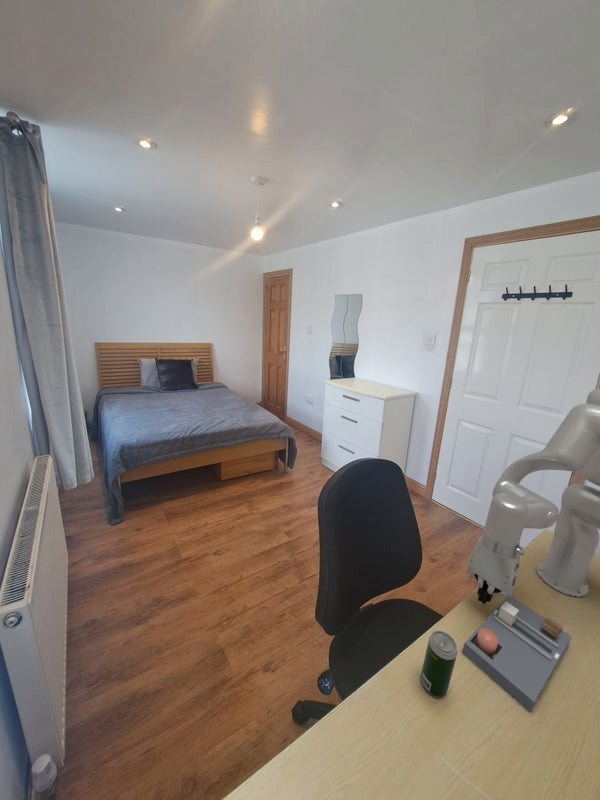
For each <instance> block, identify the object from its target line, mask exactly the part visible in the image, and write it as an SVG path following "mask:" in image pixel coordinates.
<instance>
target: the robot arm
mask: <svg viewBox="0 0 600 800" xmlns="http://www.w3.org/2000/svg"><path fill="white" fill-rule="evenodd" d="M547 470H548V471H565V472H566V471H567V472H577V471H580V474H581V476H582V478H584V479H585V480H586V481H588V482H589V483H591V484H593V485H595V486H598V487H600V388H595V389H592V390H591V391H590V392H589V393H588V395H587V397H586V402H585V403H581V404H577V405H575V406H574V407H572V409H570V411H569V412H568V413H567V415H566V416H565V418H564V419H563V421H562V422H561V423H560V425H559V427H558V428H557V429H556V430H555V432H554V434H553V435H552V436H551V438H550V439H549V441H548V442H547V444H545V447H544V448H543V449H542V450H540V451H537V452H534V453H531V454H528V455H525V456H523V457H521V458H519V459H517V460H516V461H514V462H512V463H511V464H510V465H509V466H507V467H506V468H505V470H504V471H503V473H502V474H501V475H500V477H499V479H498V480H497V481H496V483H495V485H494V487H493V490H492V499H491V502H490V505H489V509H488V514H487V517H486V521H485V525H484V529H483V532H482V535H480V536H479V537H478V539H477V541H476V542H475V545H474V547H473V549H472V550H471V554H470V556H469V560H468V565H467V570H468V571H469V572H470V573H471V574H472V575H474V578H475V580H476V581H477V586H478V590H477V596H478V597H477V601H478V602H481V604H483V605H485V604H486V603H487V602H488V603H491V601H492V599H493V596H494V594H501V595H503V596H506V597H507V596H508V597H510V596H512V595H513V587H515V585H516V584H517V579H518V575H519V569H520V563H521V562H520V559H521V558H520V556H523V555H524V554H525V550H524V549H522V548H521V547H520V544H521V543H520V541H521V538H522V534H523V532H524V531H523V530H524V529H532V530H533V529H534V530H535V529H537V530H538V529H539V530H540V529H541V530H542V529H548V528H550V527H552V526H555V524H556V523H557V524H556V528H555V531H554V534H553V536H552V539H551V543H550V546H549V549H548V552H547V554H546V559H545V561H540V562H538V563H537V564H536V568H535V569H536V570H537V571H536V570H535V571H536V573H537V575H538V576H539V578H540V577H541V578H540V579H541V580H542V582H544V583H545V582H546V583H545V584H546V585H548V586H549V587H551V588H553V590H556V591H558V592H560V593H562V594H565V595H567V596H570V595H571V597H574V596H576V597H577V598H582V597H581V596H583V597H586V596H587V595H588V593H589V589H590V588H589V585H588V583H587V582H586V581H585V580H586V577H587V574H588V571H589V570H590V566H591V563H592V561H593V559H594V555H595V553H596V551H597V548H598V546H599V543H600V532H599V530H600V490H599V489H597V488H594V487H593V486H590V485H587V484H582V483H572V484H570V485H568V486H567V487H565V489H564V490H563V492H562V494H561V500H560V501H561V502H560V510H559V508H558V506H557V505H556V504H555V503H554V502H553V501H551V500H549V499H548V498H546V497H544V496H542V495H540V494H538V493H536V492H534V491H532V490H531V489H529V488H528V487H525V486H523V485H521V484H520V483H521V482H522V480H523V479H524V478H525V477H527V476H528V475H530V474H532V473H534V472H538V471H547ZM586 594H587V595H586ZM585 595H586V596H585ZM576 597H575V598H576Z"/></svg>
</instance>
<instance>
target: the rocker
mask: <svg viewBox="0 0 600 800" xmlns="http://www.w3.org/2000/svg"><path fill="white" fill-rule="evenodd" d="M541 627H542V628H543V629H545V630H546V631H548V632H549V633H551V634H552V635H554V636H555V637H557V636H558V635H559V633H560V632H561V630H563V628H564V625H562V624H561V623H559V622H558V621H556V620H554V619H553V618H552V617H549V616H547V617H545V620H544V621H543V622H542V624H541Z"/></svg>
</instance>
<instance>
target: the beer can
mask: <svg viewBox="0 0 600 800" xmlns="http://www.w3.org/2000/svg"><path fill="white" fill-rule="evenodd" d="M428 637H429V638H428V642H427V645H426V651H425V655H424V658H423V659H424V660H423V664H422V668H421V672H420V682H421V684H422V687H423V689H424V690H425V691H426V693H427V694H428V695H430V696H432V697H433V698H437V699H439V698H443V697H445V696H446V695H447V693H448V690H449V688H450V682H451V680H452V674H453V673H454V671H453V670H454V667H455V664H456V660H457V657H458V645H457V642H456V641H455V639H454V638H453V636H452V635H450V634H449V633H447V632H446V631H443V630H435V631H433V632H432V633H431V634H430V635H429V636H428Z"/></svg>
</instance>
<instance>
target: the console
mask: <svg viewBox="0 0 600 800" xmlns="http://www.w3.org/2000/svg"><path fill="white" fill-rule="evenodd" d="M505 602H508V603H509V604H511V605H512V606H514V607H515V608H517V609H518V610H519V612H518V615H517V618H516V621H515V622H514V623H513V624H512V626H510V625H508V624H507V623H506V622H504V621H503V620H501V619H500V618H499V617H498V615H499V611H500V608H501V606H502V605H503V604H504V603H505ZM545 619H546V617H544V616H542V615H540V614H539V613H538V612H537V611H535V610H533V609H532V608H530V607H529V606H527V605H525V604H524V603H522V602H521V601H519V600H518V599H516V598H515V597H513V596H512V595H511V596H510V597H508V596H506V597H505V598H504V599H503V600H502V601H501V602H500V603H499V604H498V606H496V608H494V610H493V611H492V612H491V613H490V614H489V616H488V617H486V619H485V620H484V621H483V622H482V624H480V625H479V627H477V629H475V631H474V632H473V633H472V634H471V635H470V636H469V637H468V639H466V641H464V644H463V647H462V651H461V653H462V655H464V656H466V657H467V658H468V659H469V660H470V661H471V662H473V664H475V665H476V666H477V667H478V668H479V669H480V670H482V672H484V673H485V674H486V675H487V676H488V677H489V678H490V679H492V681H494V683H496V684H497V685H499V687H501V688H502V689H503V690H504V691H506V693H508V695H510V696H511V697H512V698H513V699H514V700H515V701H516V702H518V703H519V704H520V705H521V706H522V707H524V708H525V709H526V711H528V712H529V713H531V712H532V710H533V709H534V707H535V705H536V703H537V701H538V700H539V698H540V696H541V694H542V693H543V691H544V689H545V687H547V684H548V682H549V681H550V680H551V676H552V675H553V673H554V672H555V670H556V668H557V667H558V664H559V662H560V661H561V660H562V657H563V656H564V654H565V652H566V651H567V648H568V646H569V645H570V642H571V640H572V637H573V636H572V635H570V634H569V633H568V632H566V631H564V630H563V629H562V630H561V632H560V633H559V635H558V636H557V637H555V636H554V635H552V634H551V633H549V632H548V631H546V630H545V629H543V628H542V627H541V624H542V622H543V621H544V620H545ZM480 628H488V629H490V630H491V631H493V632H494V633H495V634H496V635H497V637H498V640H499V641H498V645H497V648H496V651H495V654H494V655H495V656H494V657H493V659H492V658H491V656H487V655H486V654H485V653H484V652H483V651H481V650H480V649H479V648H478V647H477V646H476V644H475V643H476V639H477V635H478V632H479V629H480Z"/></svg>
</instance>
